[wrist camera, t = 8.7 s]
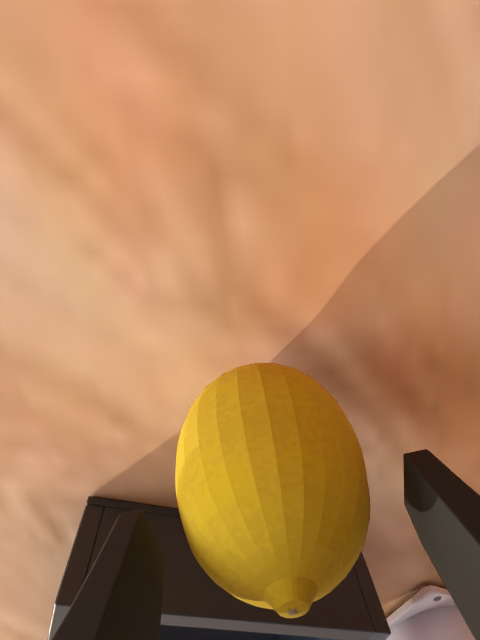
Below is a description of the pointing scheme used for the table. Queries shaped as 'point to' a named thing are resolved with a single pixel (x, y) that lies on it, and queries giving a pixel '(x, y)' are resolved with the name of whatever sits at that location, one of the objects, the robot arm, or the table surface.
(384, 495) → the table surface
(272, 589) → the lemon
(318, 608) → the bin
